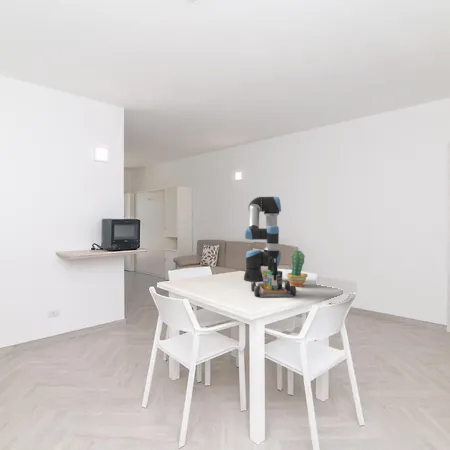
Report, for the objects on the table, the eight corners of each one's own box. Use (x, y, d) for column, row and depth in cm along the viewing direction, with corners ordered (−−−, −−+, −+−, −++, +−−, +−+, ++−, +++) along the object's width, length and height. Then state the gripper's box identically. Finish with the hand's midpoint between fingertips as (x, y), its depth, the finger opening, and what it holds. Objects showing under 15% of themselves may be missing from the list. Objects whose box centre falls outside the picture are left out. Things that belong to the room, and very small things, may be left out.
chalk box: (272, 286, 212) (272, 264, 212) (282, 289, 205) (282, 266, 204) (262, 288, 207) (262, 265, 206) (272, 291, 199) (272, 267, 199)
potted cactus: (312, 286, 224) (312, 251, 223) (292, 288, 219) (292, 252, 219) (300, 282, 239) (300, 249, 238) (281, 283, 234) (282, 249, 233)
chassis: (250, 288, 217) (250, 280, 217) (287, 288, 218) (287, 279, 218) (256, 297, 193) (256, 287, 193) (297, 297, 194) (297, 287, 194)
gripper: (263, 248, 217) (263, 279, 217) (270, 251, 193) (270, 287, 193) (274, 248, 217) (274, 279, 218) (282, 251, 193) (282, 287, 194)
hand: (272, 283), depth 206 cm, fingers closed on chalk box, 12 cm apart
